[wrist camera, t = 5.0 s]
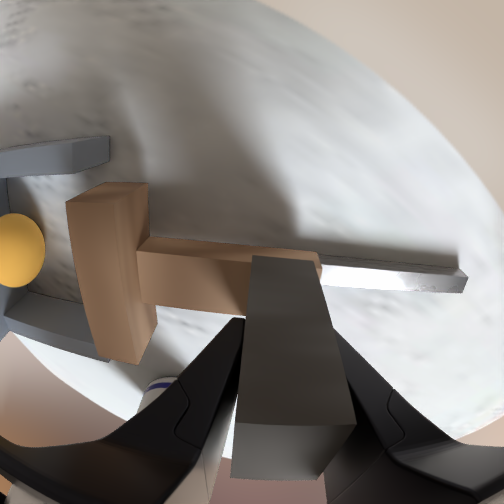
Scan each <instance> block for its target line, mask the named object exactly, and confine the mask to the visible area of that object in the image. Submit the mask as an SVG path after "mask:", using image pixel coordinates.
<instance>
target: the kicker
mask: <svg viewBox="0 0 504 504" xmlns="http://www.w3.org/2000/svg"><path fill="white" fill-rule="evenodd" d="M65 203H66V212H67V221H68V228H69V235H70V241H71V248H72V253H73V259H74V264H75V269H76V274H77V279H78V283H79V288H80V292H81V296H82V301H83V305H84V308H85V312H86V316H87V320H88V323H89V327H90V330H91V333H92V337H93V340H94V343H95V346H96V350H97V353H98V356H100V357H104V358H108V359H112V360H116V361H121V362H125V363H130V364H134V365H139V362H140V360H141V358H142V356H143V354H144V352H145V349H146V347H147V345H148V343H149V341H150V339H151V336H152V334H153V332H154V330H155V328H156V326H157V324H158V323H157V315H156V306H155V305H159V306H166V307H174V308H181V309H189V310H197V311H205V312H214V313H223V314H232V315H242V316H246V320H245V330H244V340H243V349H242V359H241V369H240V378H239V388H238V398H237V407H236V417H235V427H234V439H233V451H232V464H231V475H230V478H239V479H252V480H279V481H283V480H285V481H287V480H288V481H293V480H317V479H318V477H319V476H320V475H321V473H322V472H323V471H324V470H325V468H326V467H327V466H328V465H329V463H330V462H331V461H332V459H333V458H334V456H335V455H336V454H337V452H338V451H339V450H340V448H341V447H342V445H343V444H344V443H345V441H346V440H347V438H348V437H349V435H350V434H351V432H352V431H353V429H354V428H355V426H356V425H357V422H356V417H355V413H354V409H353V404H352V400H351V396H350V391H349V387H348V383H347V379H346V375H345V371H344V367H343V363H342V359H341V355H340V351H339V348H338V344H337V340H336V336H335V333H334V329H333V326H332V322H331V318H330V315H329V311H328V308H327V304H326V301H325V297H324V294H323V291H322V287H321V284H320V279H321V274H322V266H321V263H320V260H319V257H318V255H317V252H313V251H303V250H292V249H282V248H271V247H261V246H250V245H240V244H229V243H218V242H208V241H197V240H186V239H175V238H164V237H153V236H150V233H149V209H148V183H131V182H105V183H103V184H101V185H99V186H96V187H94V188H92V189H90V190H88V191H86V192H84V193H82V194H80V195H78V196H76V197H74V198H72V199H70V200H68V201H66V202H65Z"/></svg>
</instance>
